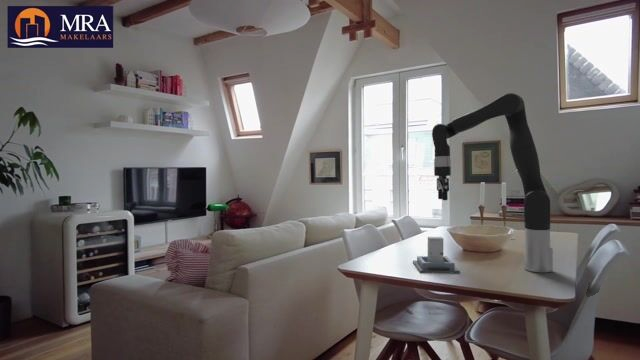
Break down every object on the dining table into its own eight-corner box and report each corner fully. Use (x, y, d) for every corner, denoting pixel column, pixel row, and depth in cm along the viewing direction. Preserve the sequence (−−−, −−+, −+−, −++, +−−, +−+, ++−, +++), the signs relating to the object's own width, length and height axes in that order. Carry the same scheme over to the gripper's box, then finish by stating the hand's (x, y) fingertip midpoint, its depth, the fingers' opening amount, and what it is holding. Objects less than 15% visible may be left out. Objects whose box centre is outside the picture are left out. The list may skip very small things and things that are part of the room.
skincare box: (429, 266, 160) (429, 238, 160) (427, 263, 165) (427, 236, 164) (444, 266, 160) (443, 238, 159) (441, 264, 164) (441, 236, 164)
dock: (448, 262, 170) (448, 255, 170) (460, 273, 152) (459, 264, 152) (412, 262, 172) (412, 255, 172) (420, 272, 154) (419, 264, 154)
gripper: (454, 165, 172) (454, 200, 172) (446, 166, 186) (446, 198, 187) (437, 165, 173) (438, 200, 173) (431, 166, 187) (431, 198, 187)
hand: (442, 199), depth 180 cm, fingers open, 8 cm apart
